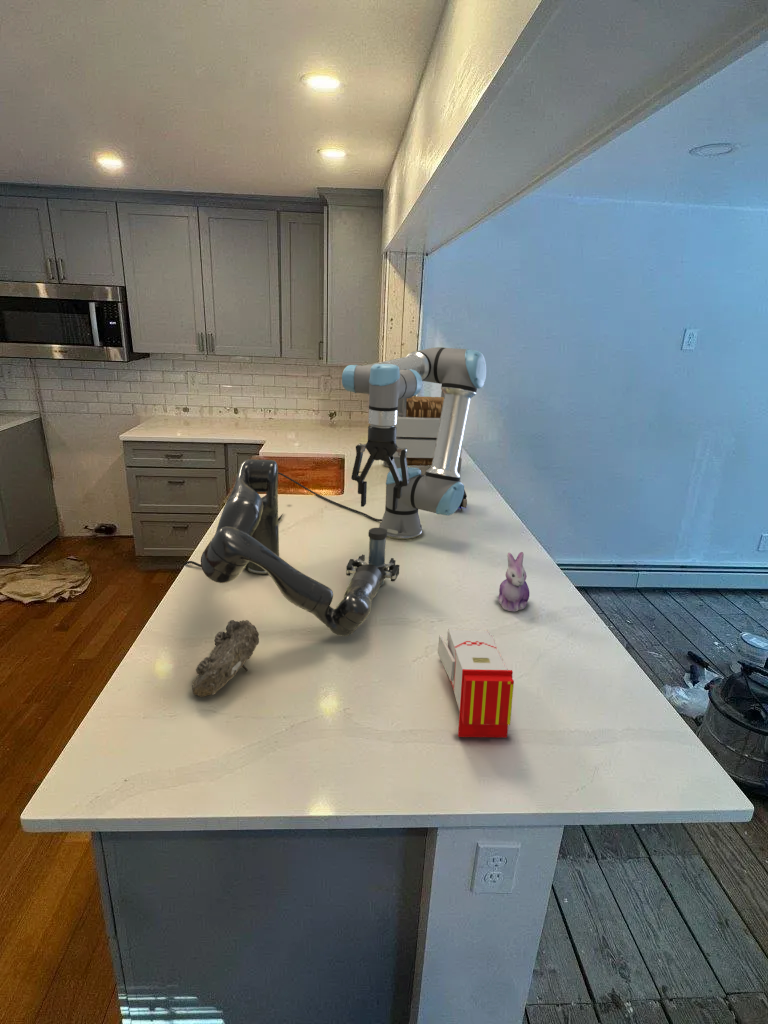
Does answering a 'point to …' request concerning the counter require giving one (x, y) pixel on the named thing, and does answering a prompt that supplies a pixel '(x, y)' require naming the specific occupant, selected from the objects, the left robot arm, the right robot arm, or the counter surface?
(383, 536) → the lid
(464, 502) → the figurine character
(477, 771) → the counter surface
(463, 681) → the toy
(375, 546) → the jar
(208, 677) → the fossil
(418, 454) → the white wooden crate
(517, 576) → the figurine
